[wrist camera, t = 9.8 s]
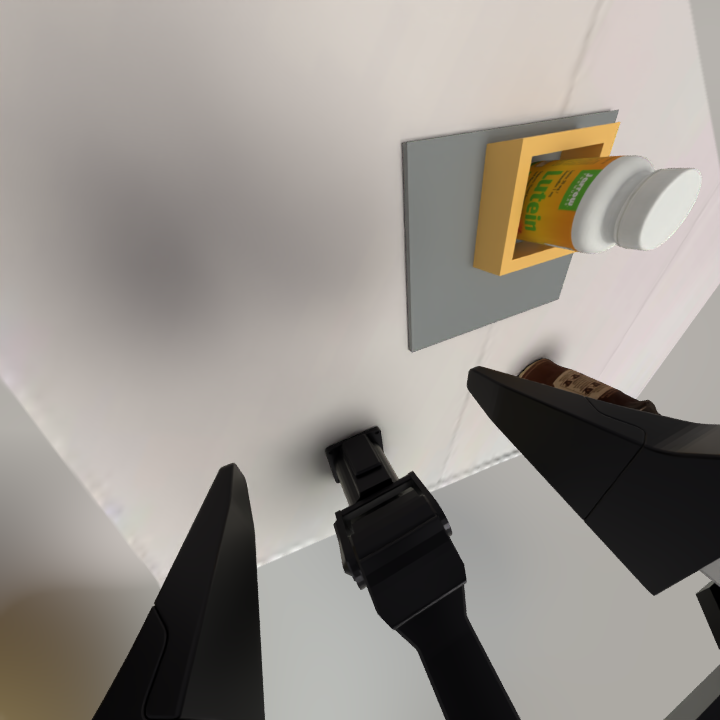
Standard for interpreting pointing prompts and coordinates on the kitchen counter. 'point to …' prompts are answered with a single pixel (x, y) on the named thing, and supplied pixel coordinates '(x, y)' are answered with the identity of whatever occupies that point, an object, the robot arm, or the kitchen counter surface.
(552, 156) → the slate board
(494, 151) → the orange collar
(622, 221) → the supplement bottle
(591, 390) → the coffee cup
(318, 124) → the kitchen counter surface
